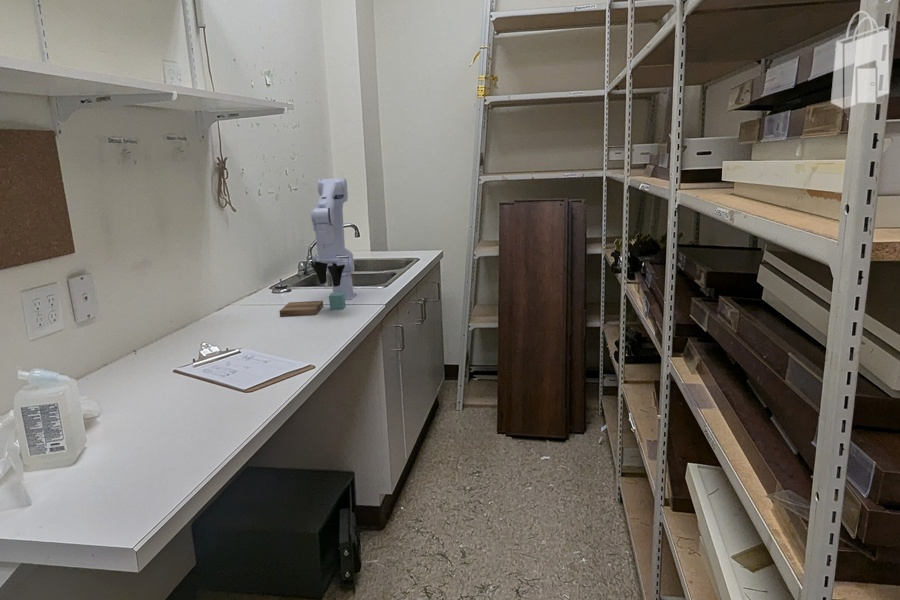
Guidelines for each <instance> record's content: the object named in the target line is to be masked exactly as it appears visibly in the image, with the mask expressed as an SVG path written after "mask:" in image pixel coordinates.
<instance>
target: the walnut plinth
mask: <svg viewBox="0 0 900 600" xmlns="http://www.w3.org/2000/svg"><path fill="white" fill-rule="evenodd" d="M322 308H324V301H323V300H310V301H309V300H308V301H294V302H293V301H291V302H288V303H287V304H286V305H284V306H283V307H282V308H281V309H280V310H279V311H278V312H279V318H285V317H286V318H287V317H302V316H316V315H317V314H318V313H319V312H320V310H322Z"/></svg>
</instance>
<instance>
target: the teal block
mask: <svg viewBox="0 0 900 600" xmlns="http://www.w3.org/2000/svg"><path fill="white" fill-rule="evenodd" d="M328 300H329V310H330V311H341V310H345V308H346V300H345V295H344V293H333V292H332V293H330V294H329V296H328Z"/></svg>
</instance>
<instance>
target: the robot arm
mask: <svg viewBox="0 0 900 600" xmlns="http://www.w3.org/2000/svg"><path fill="white" fill-rule="evenodd" d="M347 183H348V182H347V179H346V178H345V177H344V176H343V177H334V178H318V180H317V191H318V195H319V197H318V199H317V201H316V206H315V207H314V208H313V209H311V212H310V217H311V222H312V227H313V231H314V233H315V241H316V243H315V244H316V251H317V255H313V256H311V260H312V262H313V263H311V264H310V265H311V266H310V267H311V268H313V270H314V271H313V272H315V275H316V276H317V279H318V282H319V284H320V285H324V284H327V282H328V281H327V280H328V279H327V274H328V275H329V276H330V277H331V278H330V279H331V286H332V287H331V288H332V293H344V295H345V301H347V300H353V299H354V297H355V296H356V295H357V293H356V292H354V287H353V278H352V274H353V273H354V271H355V261H354V253H352V251H351V250H349V249H347V248H346V246H345V245H346V244H345V230H344V215H343V214H344V212H343V208H344V203H346V202H347V201H348V197H349V195H348V194H349V193H348V184H347Z"/></svg>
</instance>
